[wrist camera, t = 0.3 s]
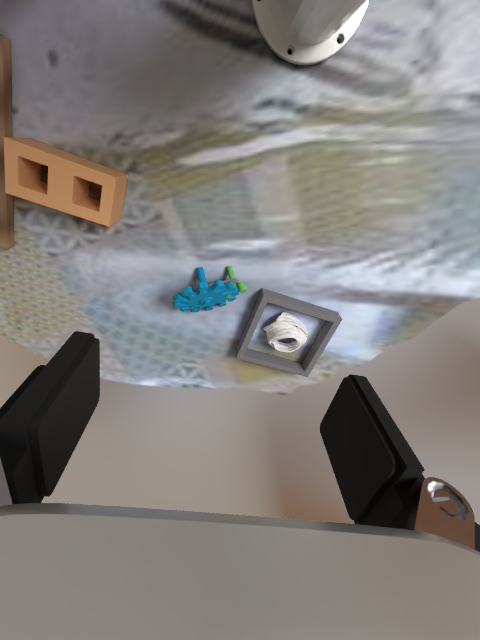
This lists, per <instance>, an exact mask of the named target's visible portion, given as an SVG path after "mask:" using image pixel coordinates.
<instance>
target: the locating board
mask: <svg viewBox="0 0 480 640" xmlns="http://www.w3.org/2000/svg"><path fill="white" fill-rule="evenodd" d="M4 137H12V77H11V40H10V39H8V38H6V37H4V36H2V35H0V247H1V248H4V249H10V248H12V247H14V203H13V195H10V194H7V193H5V165H4Z"/></svg>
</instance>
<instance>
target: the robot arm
mask: <svg viewBox="0 0 480 640" xmlns="http://www.w3.org/2000/svg"><path fill="white" fill-rule="evenodd" d="M369 2H370V0H261V1H260V2H258V1H257V0H252V7H253V13H254V16H255V20H256V23H257V26H258V29H259V31H260V33H261V35H262V37H263V39H264V40H265V42H266V43H267V45H268V46H269V47H270V49H271V50H272V51H273V52H274V53H276V54H277V55H278V56H279V57H280V58H282V59H284V60H285V61H287V62H289V63H293V64H296V65H313V64H318V63H321V62H323V61H325V60H327V59H329V58H331V57H332V56H333V55H335V54H336V53H337V52H339V51H340V50H341V49H342V48H343V47H344V46H345V45H346V44H347V43H348V42H349V40H350V39H351V38H352V36H353V35H354V34H355V32H356V31H357V29H358V27H359V26H360V24H361V22H362V20H363V18H364V15H365V13H366V11H367V8H368V6H369ZM337 39H339V40H340V43H339V44H338V43H337ZM288 50H291V55H289V54H288V53H287V51H288ZM99 395H100V348H99V339H96V338H95V337H94V334H91V333H84V332H78V331H76V332H74V333H73V334H72V335H71V336H70V338H69V339H68V340H67V341H66V342H65V344H64V345H63V346H62V347H61V348H60V349H59V351H58V352H57V353H56V354H55V355H54V357H53V358H52V359H51V360H50V361H49V363H48V364H47V365H46V366H45V365H40V366H38V367H37V368H36V369H35V370H34V371H33V372H32V373H31V374H30V375H29V376H28V378H27V379H26V380H25V381H24V382H23V383H22V384H21V386H20V387H19V388H18V389H17V390H16V391H15V392H14V394H13V395H12V396H11V397H10V398H9V399H8V400H7V401H6V403H5V404H4V405H3V406H2V407H1V408H0V640H480V525H478V524H477V523H475V519H474V513H473V510H472V508H471V506H470V504H469V503H468V501H467V500H466V499H465V497H464V496H463V495H462V494H461V493H460V492H459V491H458V490H457V489H456V488H454V487H453V486H452V485H450V484H449V483H447V482H445V481H444V480H442V479H439V478H435V477H428V478H426V479H425V478H424V476H423V475H422V472H423V471H424V468H423V467H422V465H421V463H420V462H419V460H418V459H417V457H416V455H415V454H414V452H413V451H412V449H411V447H410V446H409V445H408V443H407V441H406V440H405V438H404V436H403V435H402V433H401V432H400V430H399V429H398V427H397V426H396V424H395V422H394V421H393V419H392V418H391V416H390V414H389V413H388V411H387V410H386V408H385V406H384V405H383V404H382V402H381V400H380V398H379V397H378V395H377V394H376V392H375V391H374V389H373V387H372V386H371V384H370V383H369V381H368V380H367V378H366V377H364V376H358V375H349V376H348V377H345V378H344V379H343V381H342V382H341V384H340V386H339V389H338V390H337V393H336V395H335V396H334V398H333V400H332V402H331V404H330V406H329V408H328V410H327V412H326V414H325V416H324V418H323V420H322V422H321V424H320V433H321V436H322V439H323V441H324V445H325V447H326V450H327V453H328V456H329V459H330V462H331V465H332V468H333V471H334V474H335V477H336V479H337V482H338V485H339V488H340V491H341V494H342V497H343V500H344V503H345V506H346V509H347V512H348V514H349V516H350V518H351V519H352V520H354V522H355V524H345V523H333V522H321V521H308V520H296V519H284V518H270V517H257V516H245V515H230V514H218V513H205V512H191V511H177V510H162V509H147V508H134V507H120V506H101V505H83V504H63V503H62V504H61V503H41V501H42V500H43V498H44V496H50V495H51V494H52V492H53V490H54V489H55V487H56V484H57V483H58V481H59V479H60V477H61V475H62V473H63V471H64V469H65V467H66V465H67V463H68V461H69V459H70V457H71V455H72V453H73V451H74V449H75V447H76V445H77V443H78V441H79V440H80V438H81V435H82V434H83V432H84V429H85V428H86V426H87V424H88V421H89V420H90V418H91V416H92V414H93V412H94V410H95V408H96V406H97V404H98V401H99Z"/></svg>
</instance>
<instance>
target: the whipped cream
mask: <svg viewBox="0 0 480 640" xmlns="http://www.w3.org/2000/svg"><path fill="white" fill-rule="evenodd" d="M264 330H265V331H267V332H266V335H267V337H268V338H267V339H268V343H269V344H270V345H271V346H272V347H274V348H275V349H276V350H278V351H282V352H292V351H295V350H297V349H299V348H300V346H301V345H303V344H304V343H305V342H306V340H307V336H308V335H307V334H308V331H307V330H306V328H305V326H304V325H303V323H302V322H301V321H300V320H299V319H298V318H296V317H295V316H294V315H292V314H290V313H287V312H282V313H281V316H279V317H278V318H277V319H276V321H275V322H272V323H271V324H269V325H268V326H266V327H264ZM284 338H294V339H296V341H294V342H291V343H283V342H279V341H277V340H279V339H284Z"/></svg>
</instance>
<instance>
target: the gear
mask: <svg viewBox="0 0 480 640" xmlns="http://www.w3.org/2000/svg"><path fill="white" fill-rule="evenodd" d="M227 270H228V274H229V278H230V279H229V280H224V281H221V280H217V281H215V282H214V283H210V284H207V282H206V279H205V274H204V270H203V267H199V268H197V273H198V278H199V283H198V287H199V288H198V289H197V290H196V291H192V287H186V288H183V289H182V290H183V295H184V296H183V295H182V294H180V293H178V294H176V295H174V296H173V299H174V301H173V303H174V308H179V307H180V311H182V312H184V311H187V310H189V309H191V312H198V311H199V310H200V309H202V308H204V307H205V310H206V311H207V310H212V309H213V305H215V304H217V303H218V306H219V307H221V306H225V305H226V301H225V299H228V301H233V300H235V299H236V297H235V296H236V295H238V294H239V292H240V293H243V292H245V291H246V289H245V285H244V282H239V283H238V279H236V278H234V275H233V271H232V267H231V266H228V267H227ZM238 289H239V290H238Z"/></svg>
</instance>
